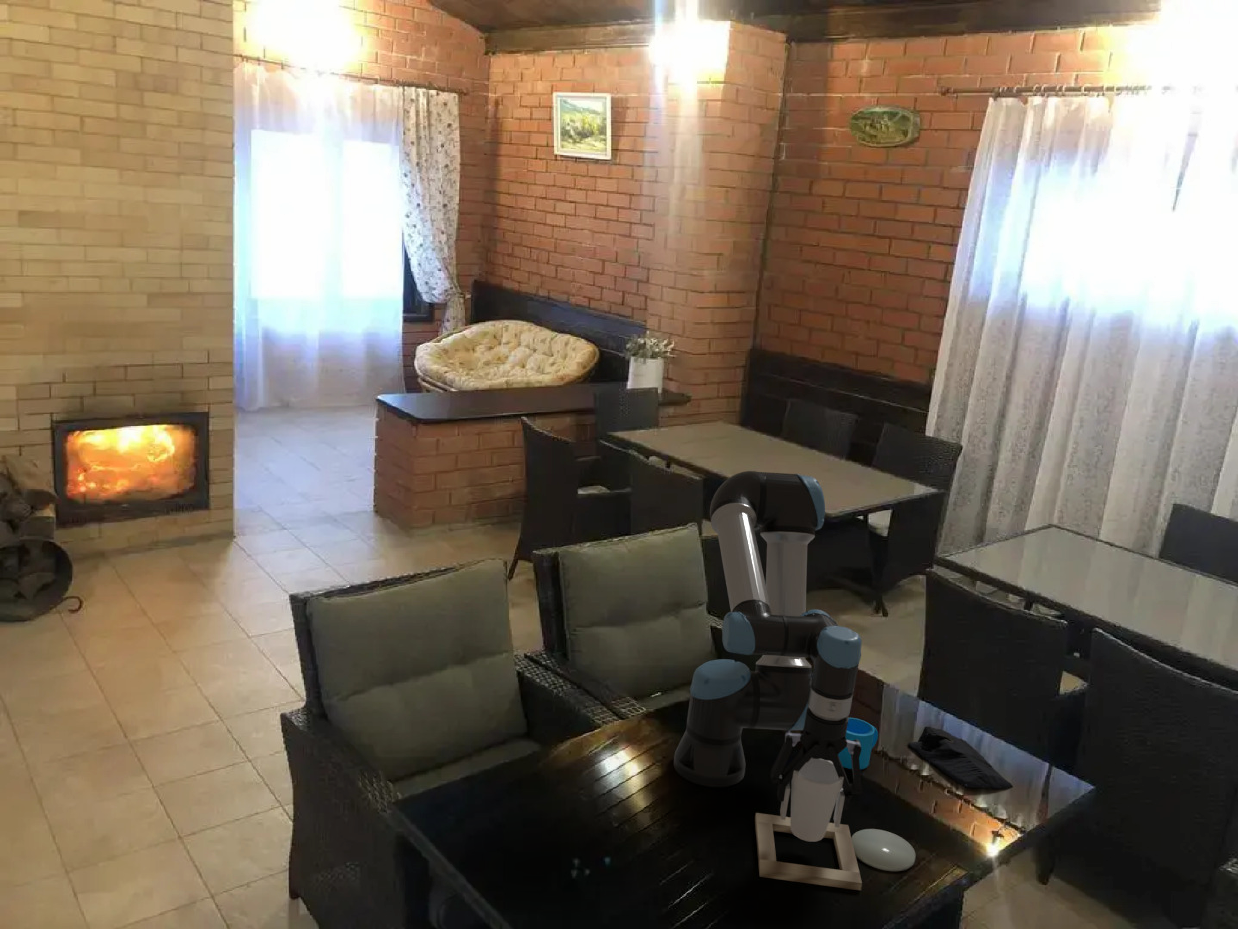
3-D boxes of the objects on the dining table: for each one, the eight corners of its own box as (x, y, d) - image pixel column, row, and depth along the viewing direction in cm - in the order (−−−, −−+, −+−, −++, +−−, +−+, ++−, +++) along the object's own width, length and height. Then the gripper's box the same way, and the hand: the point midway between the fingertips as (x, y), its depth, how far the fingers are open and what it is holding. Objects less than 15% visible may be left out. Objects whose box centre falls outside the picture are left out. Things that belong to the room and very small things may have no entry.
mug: (851, 773, 222) (857, 739, 220) (823, 755, 229) (829, 722, 227) (888, 760, 229) (893, 727, 227) (860, 743, 236) (865, 711, 234)
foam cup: (836, 825, 194) (847, 764, 191) (829, 852, 186) (840, 790, 182) (786, 811, 197) (796, 751, 194) (777, 837, 189) (787, 775, 185)
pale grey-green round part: (855, 866, 189) (855, 862, 189) (846, 829, 201) (847, 825, 201) (920, 875, 189) (921, 871, 189) (908, 837, 200) (908, 833, 200)
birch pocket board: (759, 876, 184) (760, 869, 183) (754, 819, 201) (755, 812, 201) (860, 890, 183) (861, 883, 182) (847, 832, 200) (848, 825, 200)
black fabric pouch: (957, 796, 218) (961, 776, 217) (902, 743, 238) (905, 725, 237) (1018, 791, 223) (1022, 771, 221) (959, 740, 243) (962, 722, 242)
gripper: (768, 713, 182) (751, 823, 188) (893, 730, 181) (871, 839, 187) (766, 693, 189) (749, 799, 195) (886, 709, 188) (865, 815, 194)
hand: (809, 819), depth 191 cm, fingers closed on foam cup, 9 cm apart
